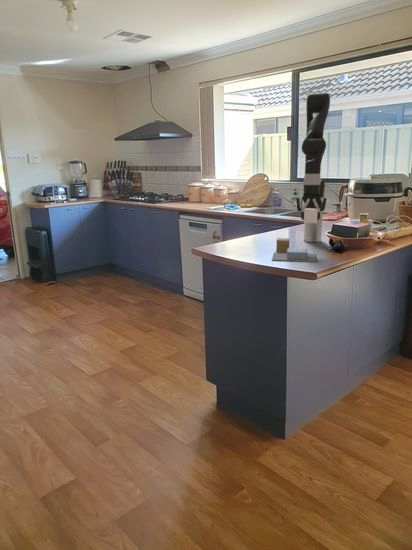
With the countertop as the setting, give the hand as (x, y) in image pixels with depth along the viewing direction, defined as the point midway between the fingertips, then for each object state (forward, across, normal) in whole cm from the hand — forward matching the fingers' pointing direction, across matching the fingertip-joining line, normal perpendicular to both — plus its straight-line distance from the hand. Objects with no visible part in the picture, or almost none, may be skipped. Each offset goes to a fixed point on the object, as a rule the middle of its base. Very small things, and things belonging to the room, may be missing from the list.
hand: (310, 219), depth 204 cm
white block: (+1, 0, 0) cm, 1 cm away
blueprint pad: (+16, +5, +12) cm, 21 cm away
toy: (+16, -14, -8) cm, 23 cm away
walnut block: (+16, +12, -2) cm, 20 cm away
